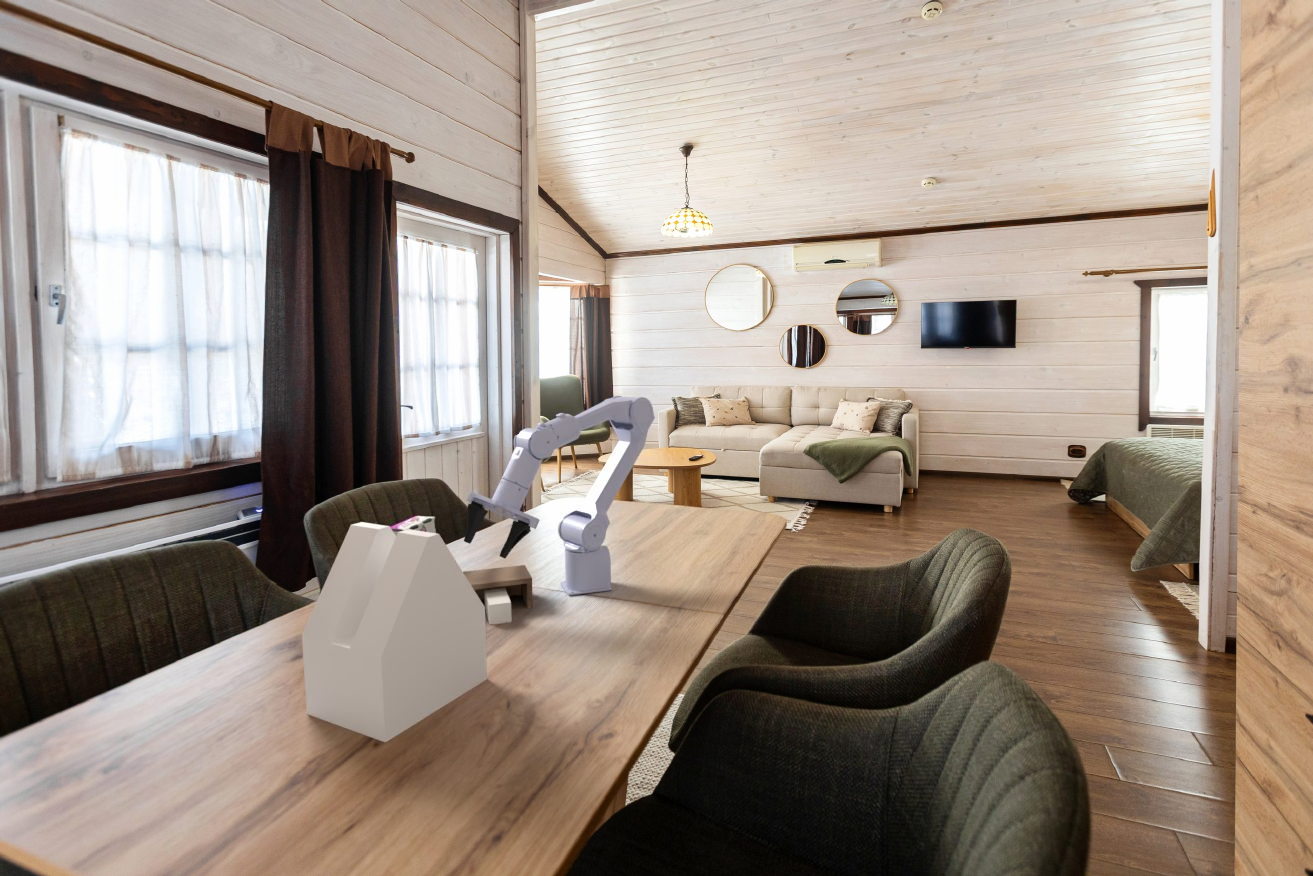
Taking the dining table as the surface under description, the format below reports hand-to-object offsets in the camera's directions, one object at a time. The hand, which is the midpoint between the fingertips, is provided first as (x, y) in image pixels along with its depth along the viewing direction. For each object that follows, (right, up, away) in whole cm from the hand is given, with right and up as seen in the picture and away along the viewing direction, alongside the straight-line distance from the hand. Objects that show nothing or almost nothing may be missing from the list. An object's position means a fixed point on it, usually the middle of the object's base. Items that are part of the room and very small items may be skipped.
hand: (484, 550), depth 126 cm
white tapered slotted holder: (-5, -17, -29) cm, 34 cm away
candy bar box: (-17, -12, +10) cm, 23 cm away
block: (+2, -13, +2) cm, 13 cm away
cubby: (0, -12, +7) cm, 14 cm away
